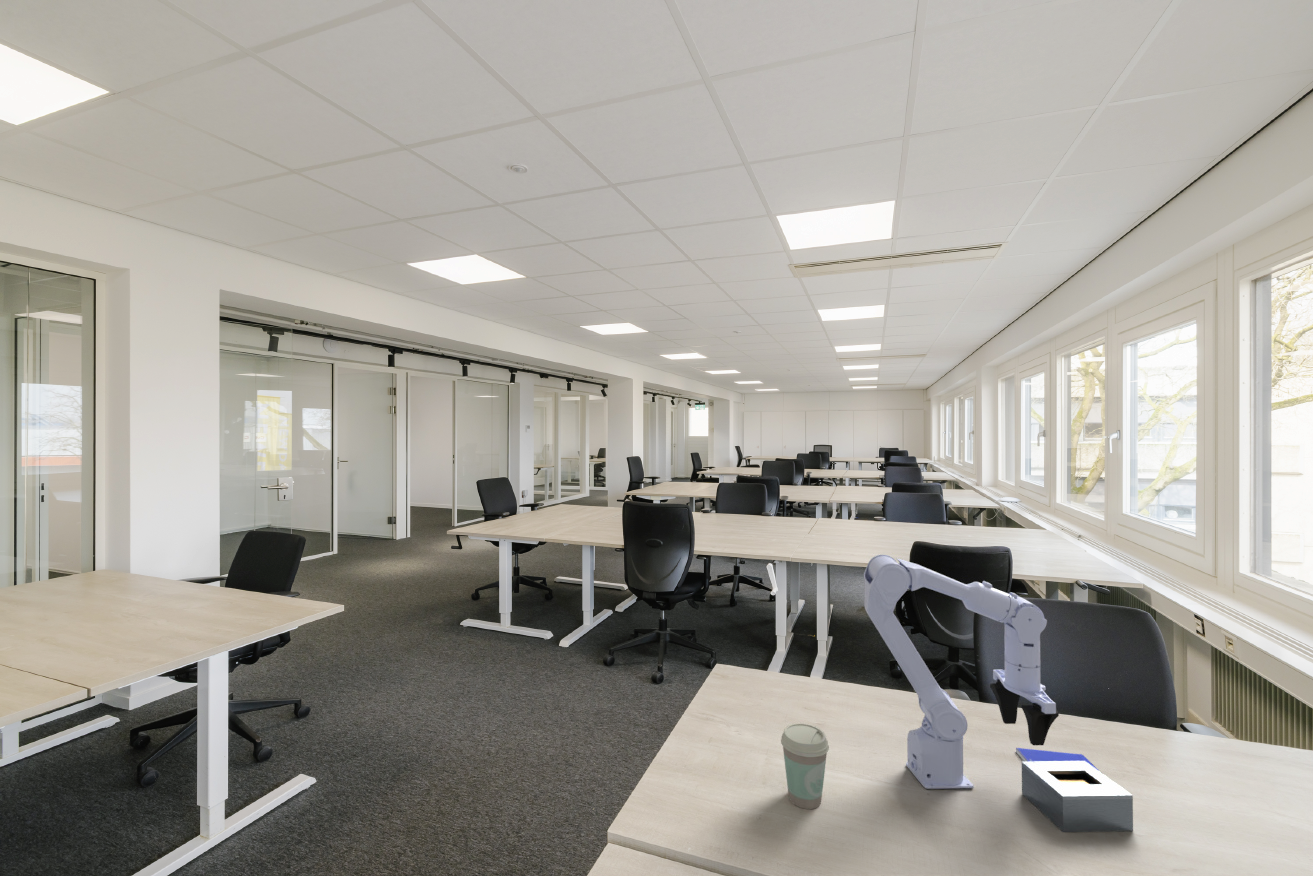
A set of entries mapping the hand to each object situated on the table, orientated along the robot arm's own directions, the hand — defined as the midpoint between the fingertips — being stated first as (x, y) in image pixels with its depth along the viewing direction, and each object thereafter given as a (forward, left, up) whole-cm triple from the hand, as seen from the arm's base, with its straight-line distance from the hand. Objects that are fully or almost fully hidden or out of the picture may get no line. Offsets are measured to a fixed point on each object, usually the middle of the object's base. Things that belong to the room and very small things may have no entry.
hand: (1022, 733), depth 104 cm
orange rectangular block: (+4, -8, -10) cm, 13 cm away
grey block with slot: (+4, -8, -10) cm, 13 cm away
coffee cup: (-43, -3, -10) cm, 44 cm away
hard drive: (+12, +6, -11) cm, 17 cm away
